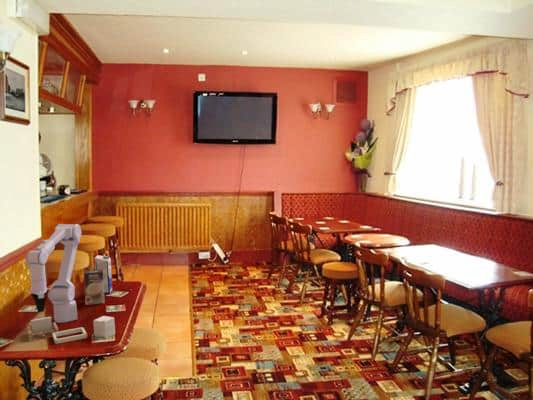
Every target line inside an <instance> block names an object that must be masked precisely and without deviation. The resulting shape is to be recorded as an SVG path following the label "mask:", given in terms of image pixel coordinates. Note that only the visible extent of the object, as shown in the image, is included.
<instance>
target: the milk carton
mask: <svg viewBox="0 0 533 400" xmlns="http://www.w3.org/2000/svg"><path fill="white" fill-rule="evenodd" d="M94 266H95V267H94V268H95V269H94V270H101V269H103V281H104V295H111V294H112V292H113V278H112V276H113V275H112V260H111V257H109V256H108V255H99V254H98V255H97V256H95V257H94ZM111 291H112V292H111Z"/></svg>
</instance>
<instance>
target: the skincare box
mask: <svg viewBox="0 0 533 400" xmlns="http://www.w3.org/2000/svg"><path fill="white" fill-rule="evenodd" d="M92 322H93V334H94V335H93V336H94V337H102V338H110V337H112V336H114V335H115V334H116V325H115V317H114V316H106V315H102V316H99V317H98V318H95V319H94V320H93V321H92Z"/></svg>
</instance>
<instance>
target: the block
mask: <svg viewBox="0 0 533 400" xmlns="http://www.w3.org/2000/svg"><path fill="white" fill-rule="evenodd" d="M30 322H31V331H32V333H38V332H44V331H48V330H52V327H53V322H52V316H45V317H41V318H36V319H35V318H34V319H31V320H30Z"/></svg>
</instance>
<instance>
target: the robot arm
mask: <svg viewBox="0 0 533 400" xmlns="http://www.w3.org/2000/svg"><path fill="white" fill-rule="evenodd" d="M82 232H83V231H82V229H81V226H80V224H78V223H76V224H69V223H68V224H67V223H66V224H65V223H58V224H57V225H56V226H55V227H54V232H53V233H52V235H51V236H50V237H48V239H43V240H42V241H41V243H40V244H39V245H38V246H36V247H35V248H34V249H33V250H32V249H31V250H29V251H28V252H27V253H26V257H25V262H26V264H27V267H28V269H29V277H30V287H31V288H30V290H28V294H31V297H32V300H34V302H35V307H36V310H37V312H38V313H42V312H44V311H45V305H46V301H47V299H49V301H50V302H51V304H52V305H53V317H54V322H55V323H56V324H57V323H58V324H59V323H60V324H61V323H62V324H63V323H68V322H71V321H75V320H76V321H77V320H78V309H77V303H76V300H75V299H74V298H75V295H76V294H75V293H76V292H75V289H76V286H75V285H74V284H73V283H72V281H71V279H72V273H73V269H74V266H75V265H74V264H75V260H76V256H77V255H76V254H77V250H78V245H79V244H80V241H81V237H82ZM59 242H60V243H61V244H62V245H64V251H63V255H62V259H61V264H60V268H59V273H58V276H57V277H58V278H57V280H55V281H54V282H52V284H51V286H50V288H49V290H48V288H47V278H46V277H47V276H46V275H47V274H46V263H47V261H48V258H49V256H50V254H52V252H53V251H54V250H55V248H56V245H57V244H58V243H59ZM47 291H48V294H47Z"/></svg>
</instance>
